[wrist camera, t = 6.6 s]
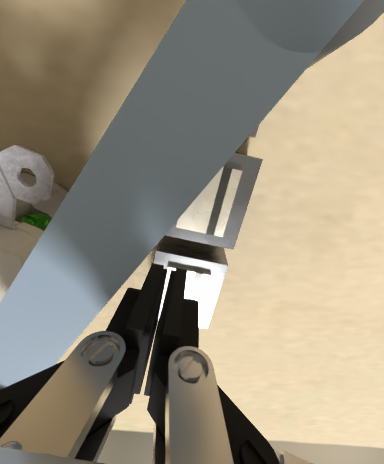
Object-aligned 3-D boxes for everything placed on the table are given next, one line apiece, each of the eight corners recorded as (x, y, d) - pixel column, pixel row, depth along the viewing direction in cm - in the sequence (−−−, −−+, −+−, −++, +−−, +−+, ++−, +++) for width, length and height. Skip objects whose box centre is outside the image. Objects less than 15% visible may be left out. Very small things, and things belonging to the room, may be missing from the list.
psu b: (164, 228, 23) (154, 253, 17) (221, 240, 23) (228, 268, 18) (153, 284, 25) (142, 320, 20) (205, 294, 26) (207, 332, 20)
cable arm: (288, -142, 6) (363, -376, 3) (378, -11, 7) (495, -108, 4) (-17, 341, 12) (-74, 394, 10) (49, 373, 13) (13, 430, 11)
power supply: (180, 139, 19) (175, 138, 14) (247, 155, 20) (264, 159, 15) (166, 214, 22) (158, 236, 17) (225, 227, 22) (234, 252, 17)
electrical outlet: (129, 155, 19) (67, 181, 10) (69, 350, 31) (15, 442, 22) (-11, 91, 18) (-230, 55, 9) (-19, 322, 29) (-116, 410, 20)
